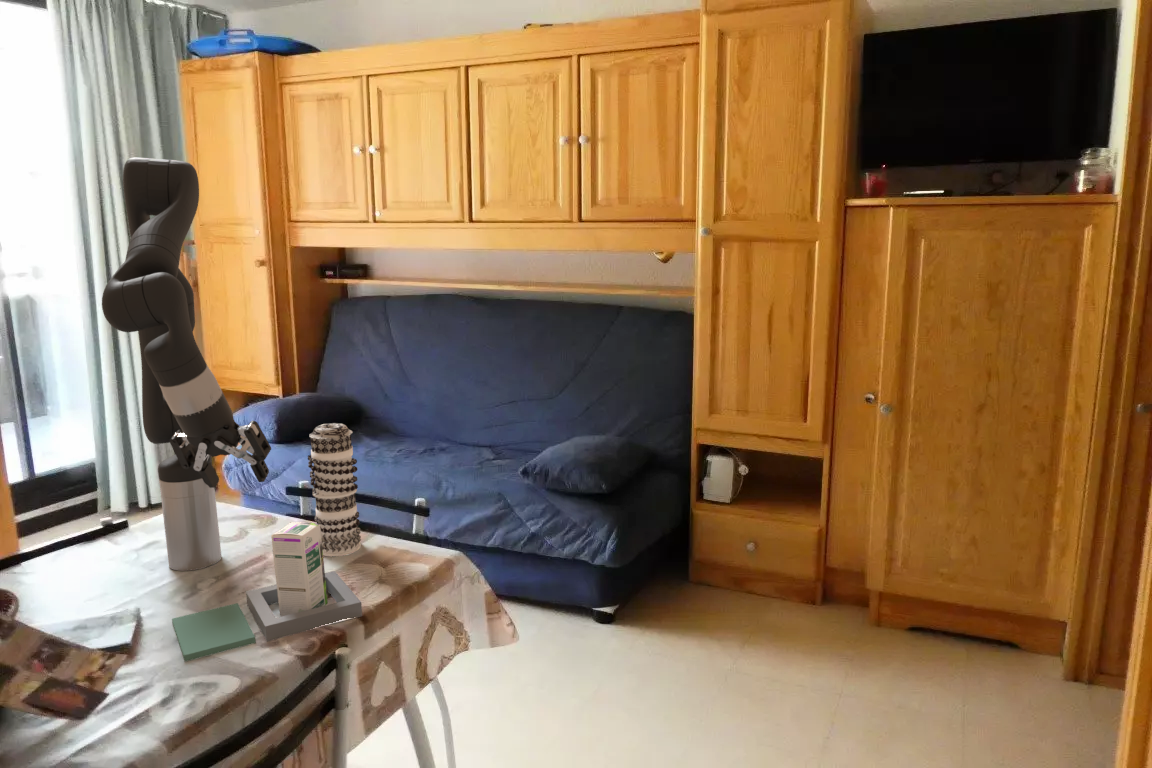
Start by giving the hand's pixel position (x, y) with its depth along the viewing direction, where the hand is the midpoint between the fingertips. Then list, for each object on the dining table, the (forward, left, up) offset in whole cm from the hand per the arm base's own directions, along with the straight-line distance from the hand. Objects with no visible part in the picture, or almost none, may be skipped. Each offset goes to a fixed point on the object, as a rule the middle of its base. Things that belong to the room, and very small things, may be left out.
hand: (239, 481), depth 132 cm
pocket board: (+4, +7, -23) cm, 24 cm away
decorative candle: (-20, +20, -23) cm, 37 cm away
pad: (+4, -7, -23) cm, 24 cm away
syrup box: (+4, +7, -23) cm, 24 cm away
